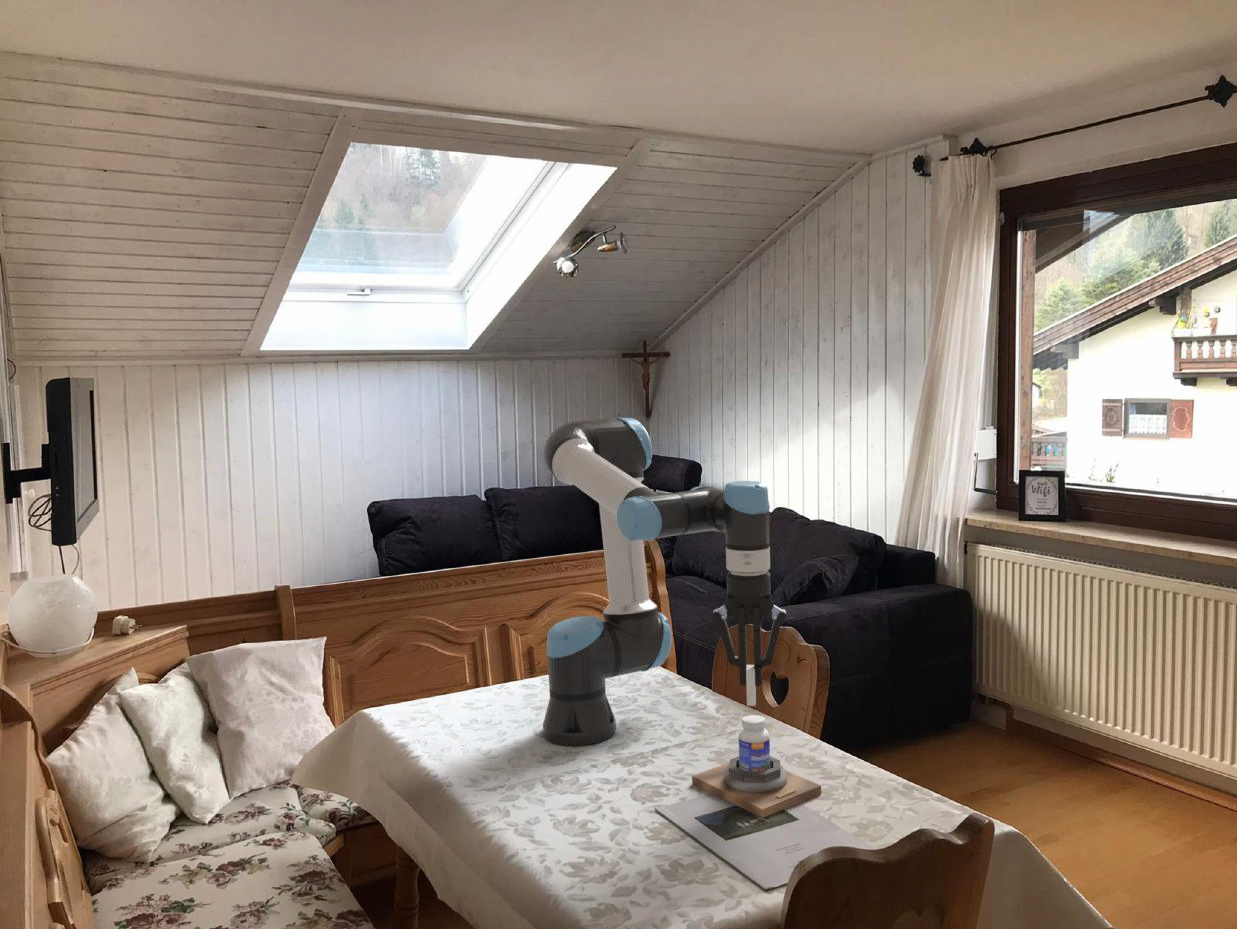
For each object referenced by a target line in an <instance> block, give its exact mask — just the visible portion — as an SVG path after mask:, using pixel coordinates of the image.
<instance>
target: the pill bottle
mask: <svg viewBox="0 0 1237 929" xmlns="http://www.w3.org/2000/svg"><path fill="white" fill-rule="evenodd" d="M741 726H742V728H741V729H740V730H739V732H738V754H739V755H738V756H739V764H740V769H742V770H744V771H746V772H763V771H766V770H768V769H770V757H771V748H770V746H771V744H770V742H771V740H770V733H769V731H768V730H767V729H766V728H765V727H766V718H765V717H763V716H762V715H755V714H752V715H751V714H749V715H746V716H743V717H742V719H741Z"/></svg>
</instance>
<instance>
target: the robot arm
mask: <svg viewBox="0 0 1237 929" xmlns="http://www.w3.org/2000/svg"><path fill="white" fill-rule="evenodd" d="M652 446H653V445H652V442H651V438H650V435H649V433H648V431H647V430H646V428H645V427H644V426H643V424H642V423H641V422H640V421H639V420H637V419H635V418H632V417H610V418H599V419H588V420H572V421H568V422H566V423H563V424H561V425H560V426H558V427H557V428H555V429H554V430H553V431H552V432H551V433H550V434H549V436H548V438H547V439H546V441H545V443H544V448H543V460H544V464H545V466H546V468H547V470H548V472H549V473H550V474H551V475H552V476H553V477H554V478H555V479H557V480H558V481H560V482H562V483H563V484H565V485H574V486H575V487H577V489H579V490H581V492H583V493H584V494H586V495H587V496H588V497H590V498H591V499H593V500H594V501H596V503H598V505H599V506H598V507H599V517H600V525H601V535H602V536H601V537H602V546H603V555H604V566H605V573H606V583H607V592H608V593H607V594H608V595H607V596H608V604H607V605H606V607H605V608H604V609H603V620H602V619H601V618H600V617H598V616H593V615H585V616H576V617H575V616H574V617H570V618H567V619H564V620H562V621H559V622H558V623H555V624H554V625H552V627H551V628H550V629H549V630H548V632H547V636H546V637H547V638H546V639H547V640H546V652H545V653H546V655H547V657H546V658H547V670H548V686H549V700H548V703H547V708H546V711H545V714H544V720H543V722H542V731H543V732H542V733H543V734H542V735H543V738H544V739H545V740H546V741H548V742H551V743H553V744H555V745H561V746H573V747H574V746H589V745H593V744H597V743H600V742H605V741H606V740H609V739H610V738H612V737H613V736H614V735H615V734H616V732H617V725H616V724H617V723H616V722H617V721H616V717H615V715H614V712H613V710H612V708H611V704H610V702H609V698H608V696H607V692H606V688H607V687H606V679H611V678H615V677H619V676H625V675H628V674H632V673H638V672H647V671H649V670H650V669H655V668H658V667H661V666H662V665H663V664H664V663H665V662H666V661H667V659H668V657H669V656H670V653H671V648H672V642H673V641H672V628H671V626H670V624H669V621H668V619H667V617H666V616H665V615H664V614H663V613H662V612H659V611H658V609H659V608H658V605H657V604H656V603H655V602H654V601H653V600H651V598H650V593H649V585H648V584H649V583H648V574H647V573H648V572H647V564H646V563H647V562H646V554H645V553H646V552H645V546H644V544H645V543H644V541H651V540H655V539H661V538H667V537H674V536H679V535H680V536H681V535H688V534H690V535H691V534H697V533H702V532H704V533H705V532H711V531H715V532H718V533H723V534H725V563H726V564H725V565H726V569H727V573H726V598H725V600H724V604H723V605H722V606H720V607H718V608H714V609H713V611H712V618H713V619H714V621H715V622H716V624H717V626H718V628H719V631H720V635H721V639H722V642H723V647H724V650H725V653H726V656H727V660H728V663H729V665H731V666H736V667H738V669H739V684H740V686H741V687H746V706H747V707H756V704H757V694H756V691H757V690H756V687H762V683H763V671H762V670H763V668H764V667H766V666H771V665H772V663H773V660H774V655H775V650H776V647H777V646H776V645H777V641H778V638H779V633H780V629H781V626H782V624H783V623H784V621H785V619H786V617H787V611H786V609H785V608H780V607H778V606H777V605H775V603H774V602H775V601H774V599H773V597H772V594H771V593H772V592H771V589H772V588H771V587H772V586H771V572H769V570H770V568H771V546H770V508H771V505H770V502H769V490H768V489H769V488H768V486H767V485H766V484H765V483H764V482H761V481H757V480H756V481H755V480H754V481H751V480H742V481H741V480H740V481H739V480H738V481H731V482H728V483H726V484H725V485H724V489H721V488H717V487H713V486H708V485H707V486H695V487H692V488H691V489H689V490H686V491H679V492H671V493H670V492H669V493H662V494H661V493H657V492H656V491H654V490H652V489H650V488H649V487H648V486H646V485H644V483H642V482H643V481H644V478H645V477H644V471H645V470H647V469H648V468H649V467H650V465H651V464H652V458H653V447H652ZM727 612H728V613H729V615H730V616H731V617H732V618H733V619H734V621H735V623H737V625H738V626H737V627H738V630H737V631H738V656H737V655H736V651H735V647H734V644H733V640H732V637H731V633H730V629H729V625H728V623H727V617H728V614H727ZM771 612H772V613H771ZM770 613H771V618H772V620H773V621H772V625H771V629H770V633H769V634H770V635H769V638H768V642H767V643H768V644H767V647H766V652H765V656H763V657H762V630H761V629H762V624H763V622H764V621H765V620H766V619H767V617H768V616H769V615H770ZM747 625H752V626H753V627H752V628H753V631H752V632H753V660H754V661H753V662H754V664H748V663H747V661H748V659H747V655H748V654H747V653H748V652H747Z"/></svg>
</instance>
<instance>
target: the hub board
mask: <svg viewBox="0 0 1237 929" xmlns="http://www.w3.org/2000/svg"><path fill="white" fill-rule="evenodd" d="M691 783H692V784H691V785H693V786H696V787H697V788H700V789H701V790H704V791H706V792H708V793H710V794H713V795H714V796H717V797H718V798H721V799H722V798H723V800H725V801H726V800H727V802H728V803H731V804H733V805H735V806H737V807H739V808H740V809H744V810H745V811H747V812H750V813H751V814H753V815H756V816H758V817H760V818H762V819H763V818H764V819H765V818H767V817H770V816H771V815H774V814H776V813H778V812H780V811H781V812H782V811H783V810H785V809H788V808H791V807H793V806H795V805H797V804H800V803H802V802H806V801H807V800H810V799H812V798H815V797H817V796H819V795H822V785H821V784H820V783H819V784H818V783H816V782H813V781H812V780H809V779H807V778H804V777H802V776H799V775H797V774H795V773H792V772H790V771H788V770H787V769H785V767H783V766H782V765H781V760H780V759H778V758H776V757H772V756H770V769H768V770H766V771H763V772H746V771H744V770H742V769H740V764H739V755H738V756H736V757H734V758H730V759H729V762H726V763H724V764H721V765H719V766H715V767H713V768H710V769H708V770H704V771H701V772H699V773H696V774H694V775H691Z"/></svg>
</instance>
